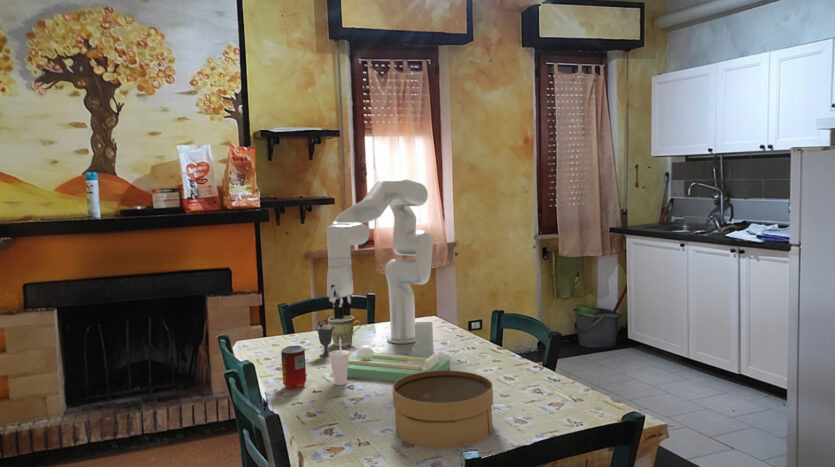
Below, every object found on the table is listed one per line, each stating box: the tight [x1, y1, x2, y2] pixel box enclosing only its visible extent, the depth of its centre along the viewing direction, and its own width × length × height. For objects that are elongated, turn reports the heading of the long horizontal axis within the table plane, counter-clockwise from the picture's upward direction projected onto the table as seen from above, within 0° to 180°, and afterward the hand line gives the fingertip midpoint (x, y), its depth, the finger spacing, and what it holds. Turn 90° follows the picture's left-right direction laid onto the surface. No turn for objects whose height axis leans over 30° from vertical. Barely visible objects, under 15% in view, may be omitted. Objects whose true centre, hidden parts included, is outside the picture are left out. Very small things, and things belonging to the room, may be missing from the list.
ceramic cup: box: [327, 315, 362, 347], centre depth 245 cm, size 13×10×10 cm
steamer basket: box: [392, 370, 494, 449], centre depth 159 cm, size 25×25×11 cm
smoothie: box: [328, 339, 351, 386], centre depth 197 cm, size 6×6×14 cm
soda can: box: [280, 345, 307, 391], centre depth 196 cm, size 7×7×12 cm
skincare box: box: [414, 321, 435, 357], centre depth 223 cm, size 6×4×12 cm
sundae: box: [315, 314, 335, 358], centre depth 229 cm, size 7×7×15 cm
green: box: [347, 352, 451, 383], centre depth 207 cm, size 18×32×6 cm, turn 67°
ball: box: [357, 344, 374, 361], centre depth 211 cm, size 5×5×5 cm
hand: (342, 316), depth 213 cm, fingers open, 3 cm apart
